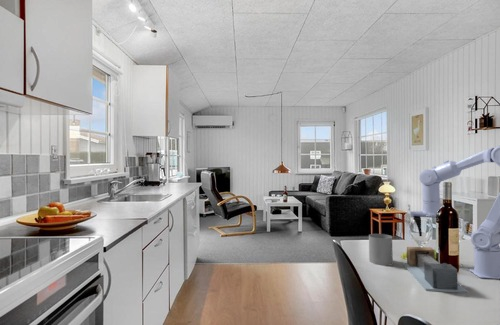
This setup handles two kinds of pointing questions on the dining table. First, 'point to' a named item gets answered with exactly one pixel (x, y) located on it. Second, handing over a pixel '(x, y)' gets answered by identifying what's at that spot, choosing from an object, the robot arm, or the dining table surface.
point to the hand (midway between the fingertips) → (431, 236)
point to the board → (421, 279)
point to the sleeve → (441, 276)
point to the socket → (412, 251)
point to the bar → (423, 259)
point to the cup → (380, 249)
